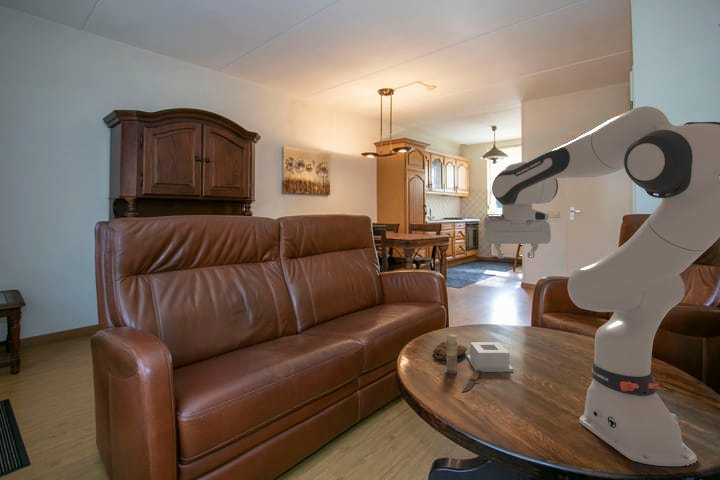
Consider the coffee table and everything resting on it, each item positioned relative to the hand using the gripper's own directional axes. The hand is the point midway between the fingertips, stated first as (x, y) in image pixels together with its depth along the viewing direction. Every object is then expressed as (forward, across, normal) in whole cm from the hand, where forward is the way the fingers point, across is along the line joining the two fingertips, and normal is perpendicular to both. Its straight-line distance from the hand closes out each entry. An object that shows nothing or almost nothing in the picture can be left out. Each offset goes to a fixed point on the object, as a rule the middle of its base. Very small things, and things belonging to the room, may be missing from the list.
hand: (515, 257), depth 117 cm
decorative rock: (+38, -18, +13) cm, 44 cm away
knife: (+38, -15, -9) cm, 42 cm away
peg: (+38, -20, -1) cm, 43 cm away
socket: (+38, -6, +5) cm, 38 cm away
